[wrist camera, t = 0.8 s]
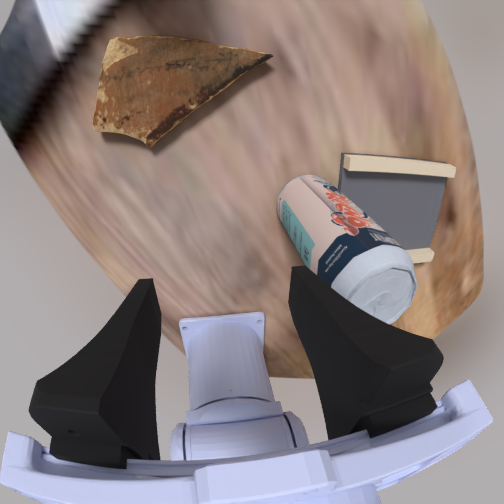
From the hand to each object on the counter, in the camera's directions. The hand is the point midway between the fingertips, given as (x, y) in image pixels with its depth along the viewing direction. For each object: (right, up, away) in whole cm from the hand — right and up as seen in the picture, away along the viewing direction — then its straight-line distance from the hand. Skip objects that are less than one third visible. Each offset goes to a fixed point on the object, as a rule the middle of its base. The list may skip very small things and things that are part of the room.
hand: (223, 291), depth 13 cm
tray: (+14, +5, +12) cm, 19 cm away
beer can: (+5, +6, +10) cm, 13 cm away
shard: (-5, +14, +4) cm, 15 cm away
